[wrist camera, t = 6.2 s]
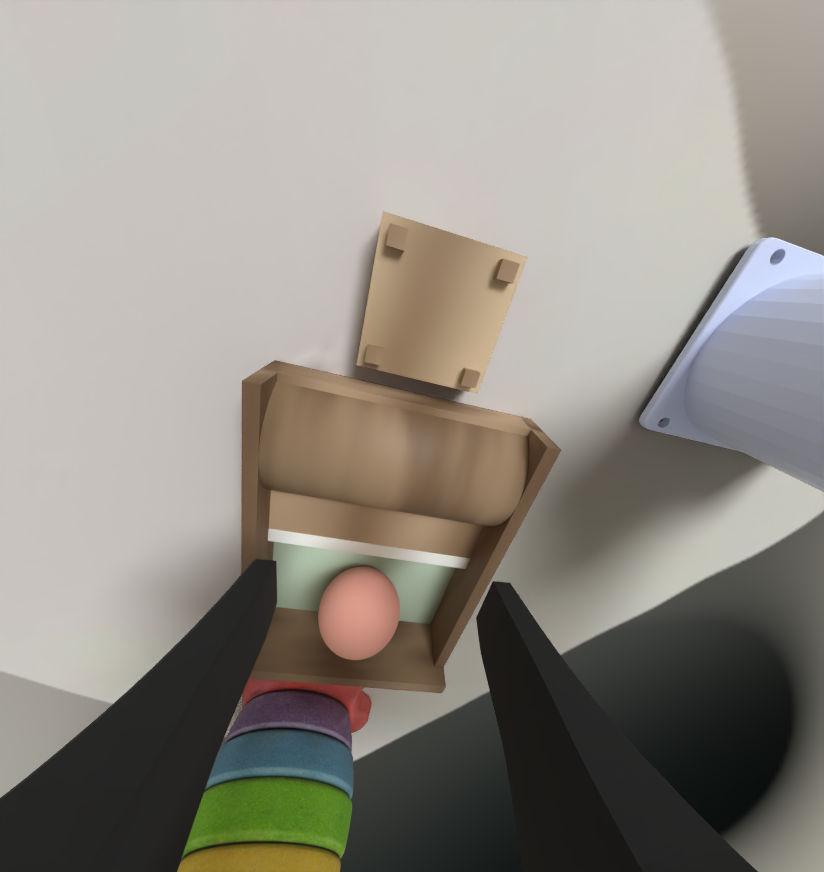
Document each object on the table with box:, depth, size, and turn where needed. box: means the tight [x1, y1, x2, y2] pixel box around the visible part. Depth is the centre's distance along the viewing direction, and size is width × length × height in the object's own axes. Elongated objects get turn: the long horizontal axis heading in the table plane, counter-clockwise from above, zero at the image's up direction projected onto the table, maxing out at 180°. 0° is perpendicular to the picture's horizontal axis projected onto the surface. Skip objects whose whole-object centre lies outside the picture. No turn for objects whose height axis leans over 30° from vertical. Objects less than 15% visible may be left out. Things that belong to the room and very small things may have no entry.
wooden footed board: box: [357, 211, 527, 394], centre depth 11 cm, size 5×5×2 cm
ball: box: [318, 567, 400, 660], centre depth 16 cm, size 4×4×4 cm
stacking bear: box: [177, 678, 371, 872], centre depth 17 cm, size 11×10×18 cm
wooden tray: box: [241, 360, 561, 693], centre depth 17 cm, size 12×17×7 cm
